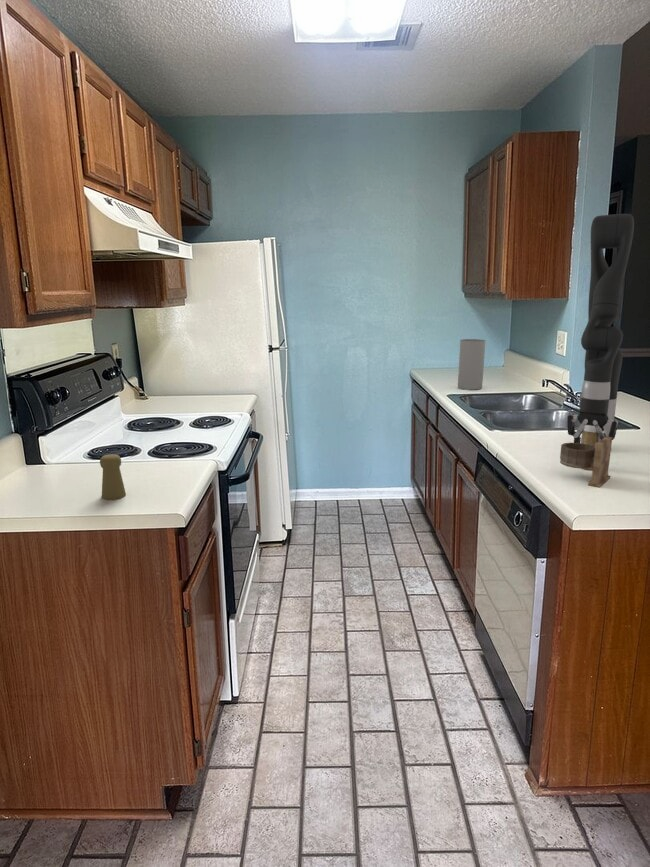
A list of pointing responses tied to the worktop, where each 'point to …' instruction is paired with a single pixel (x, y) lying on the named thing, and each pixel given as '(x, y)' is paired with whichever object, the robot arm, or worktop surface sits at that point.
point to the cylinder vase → (471, 364)
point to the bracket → (589, 459)
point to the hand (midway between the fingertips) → (588, 451)
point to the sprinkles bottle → (590, 437)
